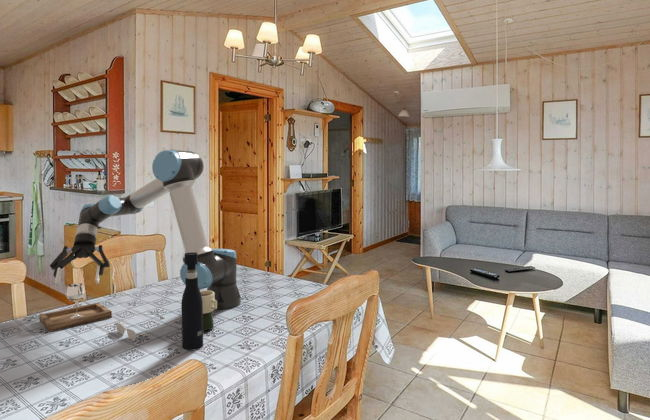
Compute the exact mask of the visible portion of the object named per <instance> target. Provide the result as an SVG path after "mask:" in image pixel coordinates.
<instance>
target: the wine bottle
mask: <svg viewBox="0 0 650 420" xmlns="http://www.w3.org/2000/svg"><path fill="white" fill-rule="evenodd" d="M184 254H185V265H187V271H188V272H187V273H186V278H185V284H184V286H185V287H184V290H183V293H182V298H181V304H180V305H181V325H182V328H181V347H182V349H183V350H186V351H195V350H194V349H196V350H198V348H199V349H201V348H203V346H204V331H203V301H202V296H201V292H200V291H201V290H199V287H198V277H197V272H196V271H195V270H196V264H198V253H195V252H190V253H185V252H184Z"/></svg>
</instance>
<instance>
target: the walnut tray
mask: <svg viewBox="0 0 650 420" xmlns="http://www.w3.org/2000/svg"><path fill="white" fill-rule="evenodd" d="M77 312H78V314H82V315H84V316H81V317H77V318H72V319H71V318H70V317H71V316H73V315H75V314H76V308H75V306H74V307H70V308H66V309H61V310H56V311H49V312H46V313H40V314H39V322H40V323H41V324H42V325H43V326H44V327H45V328H46V330H47V331H49V332H50V333H52V332H56V331H60V330H64V329H69V328H72V327H74V328H75V327H77V326H82V325H86V324H91V323H96V322H99V321H104V320H107V319H111V318H112V317H113V314H112V313H113V312H112V310H111V309H109V308H108V307H106V306H105V305H103V304H101V303H100V302H94V303H90V304H86V305H85V304H84V305H81V306H79V305H78V307H77Z"/></svg>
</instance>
